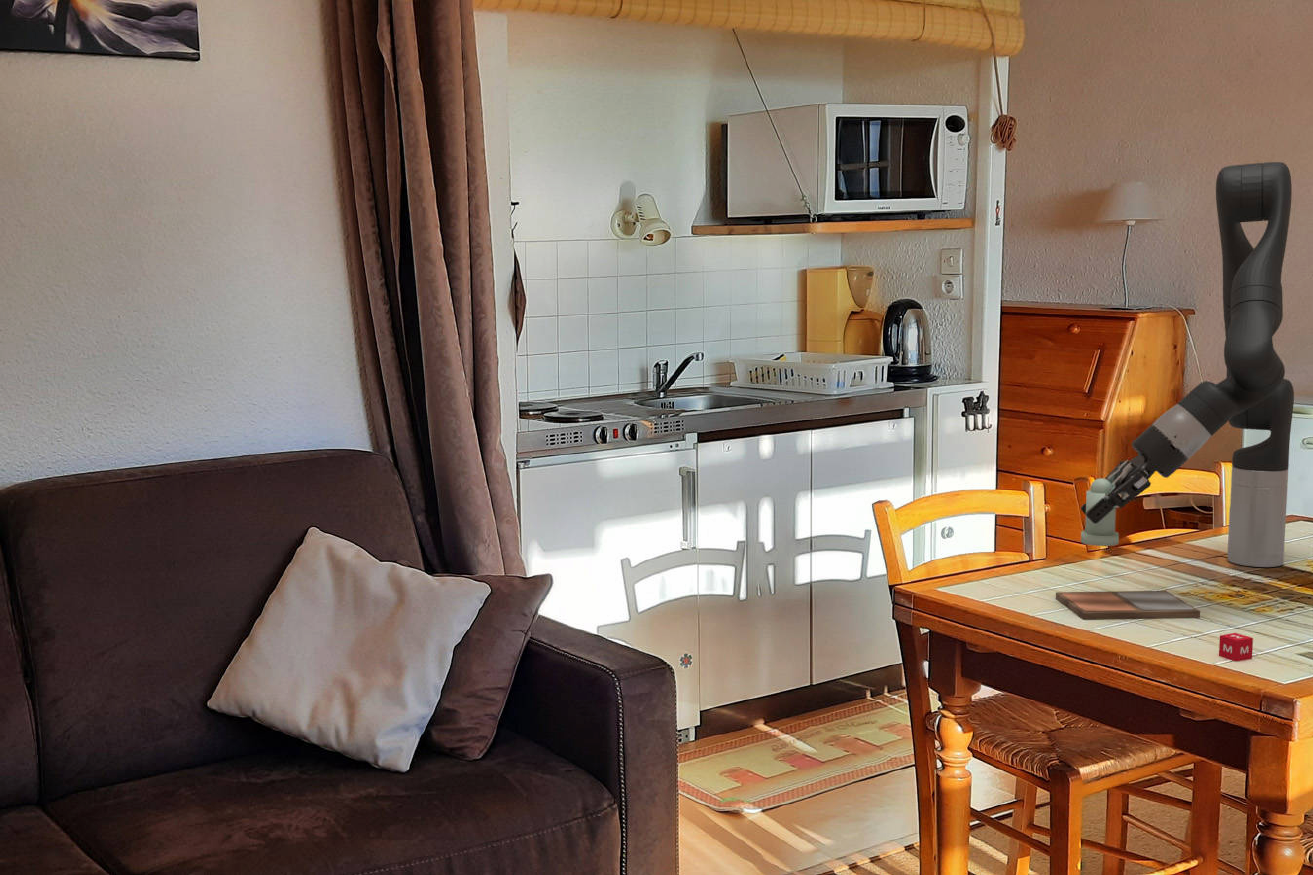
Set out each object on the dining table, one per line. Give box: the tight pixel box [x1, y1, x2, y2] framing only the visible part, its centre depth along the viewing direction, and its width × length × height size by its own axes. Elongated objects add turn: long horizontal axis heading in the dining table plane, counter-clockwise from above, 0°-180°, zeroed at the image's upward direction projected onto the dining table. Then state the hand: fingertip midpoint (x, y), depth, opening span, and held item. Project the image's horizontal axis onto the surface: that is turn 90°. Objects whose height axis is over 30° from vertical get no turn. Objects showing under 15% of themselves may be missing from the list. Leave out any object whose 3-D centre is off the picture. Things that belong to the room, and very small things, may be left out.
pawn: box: [1080, 477, 1120, 547], centre depth 211 cm, size 6×6×10 cm
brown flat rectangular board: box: [1055, 590, 1201, 621], centre depth 213 cm, size 13×18×1 cm
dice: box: [1218, 632, 1254, 662], centre depth 187 cm, size 3×3×3 cm
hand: (1087, 516), depth 212 cm, fingers closed on pawn, 4 cm apart
